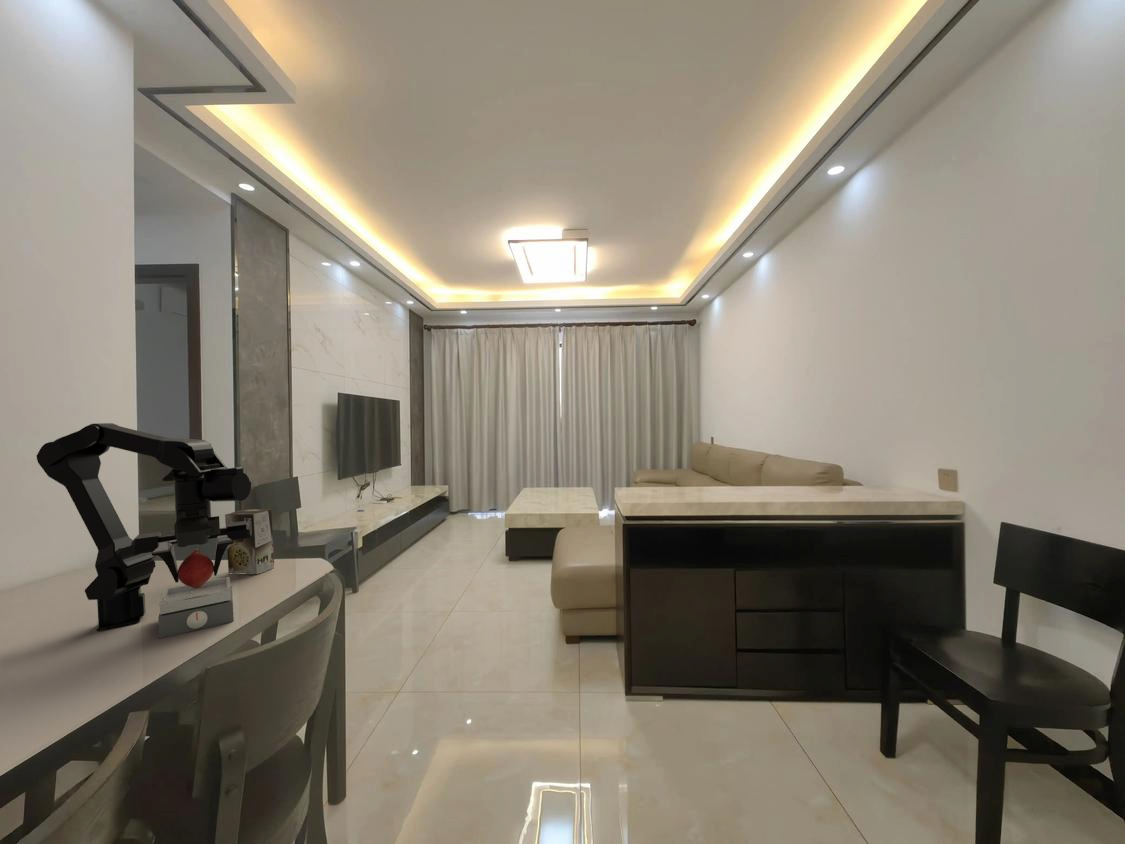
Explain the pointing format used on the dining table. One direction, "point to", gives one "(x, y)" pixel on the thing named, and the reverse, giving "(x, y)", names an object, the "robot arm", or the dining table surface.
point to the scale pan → (195, 595)
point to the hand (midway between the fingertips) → (196, 578)
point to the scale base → (195, 618)
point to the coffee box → (252, 542)
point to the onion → (195, 570)
